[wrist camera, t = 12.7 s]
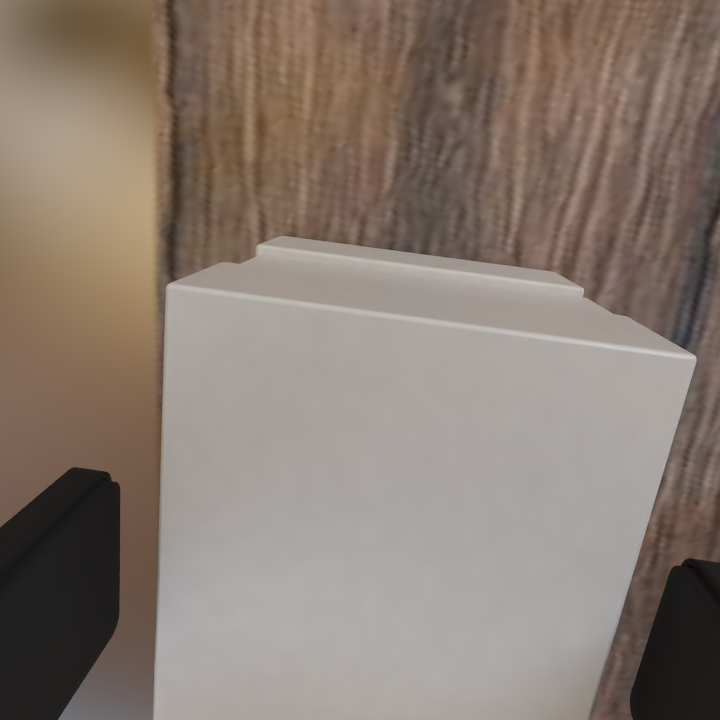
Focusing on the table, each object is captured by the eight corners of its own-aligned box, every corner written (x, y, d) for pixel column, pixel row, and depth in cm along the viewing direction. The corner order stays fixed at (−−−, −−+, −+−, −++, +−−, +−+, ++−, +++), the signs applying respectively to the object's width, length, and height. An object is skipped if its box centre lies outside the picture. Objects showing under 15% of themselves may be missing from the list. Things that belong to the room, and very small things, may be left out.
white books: (279, 234, 15) (220, 256, 10) (560, 272, 15) (636, 312, 10) (250, 576, 18) (194, 718, 13) (485, 612, 18) (516, 771, 13)
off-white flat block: (220, 260, 10) (163, 283, 8) (629, 315, 10) (700, 356, 8) (195, 714, 13) (147, 832, 11) (512, 765, 13) (537, 899, 10)
